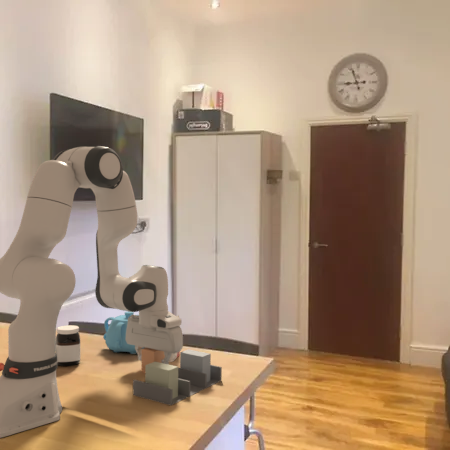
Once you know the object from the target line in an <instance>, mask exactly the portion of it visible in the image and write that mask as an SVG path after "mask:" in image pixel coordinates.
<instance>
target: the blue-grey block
mask: <svg viewBox="0 0 450 450" xmlns="http://www.w3.org/2000/svg"><path fill="white" fill-rule="evenodd" d="M179 356H180V357H179V358H180V359H179V363H180V365H179V368H183V369H187V370H192V371H196V372H201V373H205V374H207V382H209V381H210V366H211V365H212V364H211V363H212V362H211V358H212V355H211V353H208V352H204V351H200V350H194V349H189V348H188V349H185V350H183V351H180V355H179Z"/></svg>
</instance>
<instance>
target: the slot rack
mask: <svg viewBox="0 0 450 450" xmlns="http://www.w3.org/2000/svg"><path fill="white" fill-rule="evenodd" d="M177 367H178V397H175V398H173V399H172V397H173V389H170V388H166V387H162V386H158V385H154V384H150V383H146V382H145V381H141V380H138V379H132V396H136V397H139V398H142V399H145V400H150V401H152V402H158V403H160V404H164V405H168V406H173V405H175V404H177V403H179V402H181V401H183V400H185V399H187V398H190V397H191V396H194V395H195V394H197V393H199V392H201V391H203V390H205V389H207V388H209V387H212V386H214V385H216V384H218V383H220V382H221V381H222V378H223V377H222V374H223V373H222V366H217V365H214V364H211V366H210V381H209V382H207V374H205V373H201V372H196V371H192V370H187V369H183V368H180V366H177Z"/></svg>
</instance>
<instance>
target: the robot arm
mask: <svg viewBox="0 0 450 450" xmlns="http://www.w3.org/2000/svg"><path fill="white" fill-rule="evenodd" d="M79 188H82V189H90V190H91V191H92V192H93V195H94V196H95V206H96V213H97V230H96V234H95V248H96V269H97V270H96V271H97V278H96V284H95V294H94V295H95V298H96V301H97V302H98V303H99V305H101V307H103V308H106V309H112V310H113V309H115V310H118V311H123V312H134V313H137V312H138V314H133V315H131V316H129V318H128V324H127V329H126V342H127V344H130V345H135V350H136V352H137V353H136V354H137V360H138V361H141V362H142V348H143V347H145V348H150V349H154V350H159V351H164V355H166V356H165V358H164V359H162V360H161V362H162V363H164V364H168V365H170V362H169V359H170V357H171V355H172V353H177V352H182V350H183V346H184V340H183V339H184V336H183V331H182V328H181V325H182V318H180V316H179V317H177V316H178V315H175V314H174V313H172V312H171V311H169V305H168V295H169V280H168V278H169V277H168V274H167V270H166V268H164V267H162V266H157V265H150V264H145V265H144V264H142V266H141V268H140V269H139V270H138V271H137V272H136V273H134V274H133V275H131V276H128V277H124V276H122V275H121V273H120V272H119V259H118V258H119V256H118V246H119V244H120V243H121V241H123V240H124V239H125V238H127V237H129V236H130V235H131V234H132V233H133V232H134V231H135V229H136V227H137V225H138V210H137V203H136V197H135V193H134V189H133V186H132V182H131V179H130V176H129V175H128V173H127V172H126V171H125V170H124V169H123V164H122V161H121V157H120V156H119V154H118V153H117V152H116V151H115V150H114V149H113V148H109V147H108V146H101V145H96V146H77V147H73V148H67V149H64V150H62V151H60V152H58V153H57V154H56V155H54V157H53V158H52V159H49V160H45V161H43V162H42V163H40V164H39V166H38V167H37V170H36V171H35V173H34V176H33V178H32V181H31V184H30V186H29V190H28V193H27V197H26V201H25V205H24V209H23V213H22V216H21V220H20V224H19V227H18V230H17V232H16V235H15V236H14V238H13V240H12V242H11V244H10V245H9V247H8V249H7V250H6V252H5V253H4V254H3V256H2V257H0V293H1V294H3V295H4V296H6V297H7V298H12V299H17V300H20V304H19V309H18V313H17V316H16V318H15V319H14V320H12V322H11V323H10V324H9V326H8V330H7V331H8V334H7V335H8V339H7V340H8V341H7V343H8V351H7V352H8V356H7V357H6V361H5V363H3V362H0V372H1V375H0V439H1V438H4V437H8V436H11V435H15V434H17V433H20V432H21V433H22V432H25V431H27V430H31V429H34V428H38V427H41V426H44V425H47V424H49V423H53V422H58V421H59V420H60V419H61V413H62V411H63V406H62V402H61V399H60V393H59V388H58V380H57V370H58V365H57V354H56V352H55V348H56V336H57V322H58V318H59V315H60V311H61V309H62V307H63V304H64V303H65V302H66V301H67V300H68V299H69V298H70V297H71V296H72V294H73V292H74V290H75V289H76V288H75V287H76V274H75V272H74V269H72V267H71V266H70V265H69V264H66V263H64V262H63V261H59V260H58V259H54V258H49V257H50V255H51V253H52V251H53V250H54V248H55V247H56V246H57V245H58V244H59V243H61V242H62V241H63V240H64V239H65V237H66V235H67V229H68V227H69V221H70V216H71V213H72V209H73V203H74V197H75V193H76V192H77V189H79ZM179 326H180V327H179Z"/></svg>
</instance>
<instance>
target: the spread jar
mask: <svg viewBox="0 0 450 450" xmlns="http://www.w3.org/2000/svg"><path fill="white" fill-rule="evenodd" d="M79 332H80V327H79V326H78V325H73V324H72V325H61V326H58V327H56V348H55V353H56V354H57V366H59V367H72V366H76V365H78V364H79V363H80V362H81V336H80V333H79Z"/></svg>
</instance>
